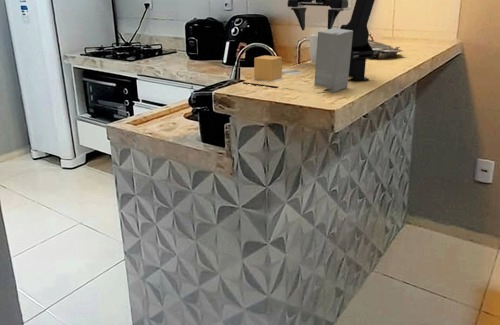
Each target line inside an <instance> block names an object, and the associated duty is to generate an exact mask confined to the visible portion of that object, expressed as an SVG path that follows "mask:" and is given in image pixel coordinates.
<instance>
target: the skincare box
mask: <svg viewBox="0 0 500 325" xmlns="http://www.w3.org/2000/svg"><path fill="white" fill-rule="evenodd" d="M317 34H318V39H317V54H316V63H315V67H314V68H315V69H314V70H315V72H314V82H313V83H314V84H313V86H317V87H323V88H326V89H323V90H322V92H328V93H336V92H338V91H341V90H343V89H346V88H348V87H349V86H348V84H349V81H348V79H349V77H350V76H349V67H350V57H351V47H352V37H353V30H345V29H340V28H338V27H337V28H336V27H332V29H328V28H327V29H323V30H319V31H317Z"/></svg>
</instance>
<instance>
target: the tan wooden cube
mask: <svg viewBox="0 0 500 325" xmlns="http://www.w3.org/2000/svg"><path fill="white" fill-rule="evenodd" d="M253 62H254V63H253V66H254V73H253V74H254V76H253V78H254V79H258V80H266V81H274V80H277V79H280V78H282V77H283V75H282V70H283V56H275V55H267V54H265V55H260V56H257V57H254V60H253Z"/></svg>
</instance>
